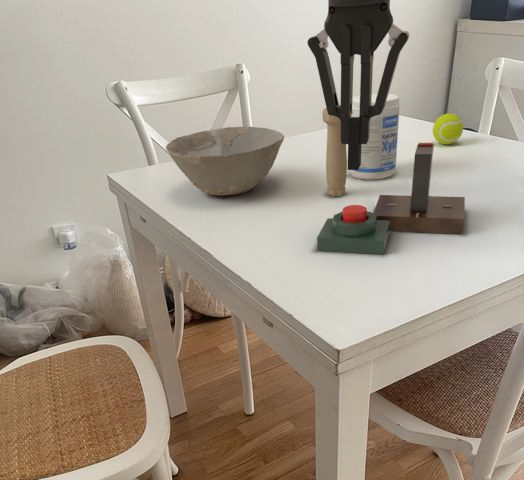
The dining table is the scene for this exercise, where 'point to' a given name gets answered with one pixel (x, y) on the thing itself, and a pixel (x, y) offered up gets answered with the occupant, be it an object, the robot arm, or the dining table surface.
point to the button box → (354, 235)
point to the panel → (422, 214)
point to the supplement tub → (379, 140)
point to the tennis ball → (448, 128)
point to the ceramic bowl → (226, 158)
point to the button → (354, 213)
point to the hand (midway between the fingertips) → (354, 167)
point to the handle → (335, 156)
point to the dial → (421, 177)
